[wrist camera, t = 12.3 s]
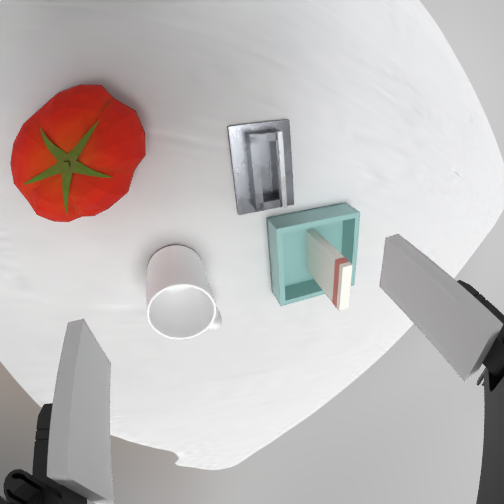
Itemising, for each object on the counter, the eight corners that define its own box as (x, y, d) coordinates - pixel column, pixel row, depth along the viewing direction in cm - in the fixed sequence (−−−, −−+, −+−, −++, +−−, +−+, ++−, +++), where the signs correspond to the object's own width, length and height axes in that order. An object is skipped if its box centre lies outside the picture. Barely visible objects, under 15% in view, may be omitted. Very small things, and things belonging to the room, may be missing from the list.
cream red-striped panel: (305, 230, 47) (342, 267, 38) (314, 228, 47) (352, 264, 38) (306, 269, 50) (339, 311, 41) (314, 267, 51) (348, 308, 41)
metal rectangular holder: (227, 126, 37) (233, 129, 34) (287, 119, 39) (297, 121, 36) (237, 213, 43) (244, 222, 40) (292, 203, 45) (302, 211, 42)
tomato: (11, 146, 30) (-25, 163, 21) (109, 64, 29) (93, 53, 21) (71, 228, 37) (51, 264, 29) (169, 156, 37) (172, 175, 29)
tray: (266, 217, 45) (276, 229, 41) (345, 202, 47) (359, 212, 44) (272, 291, 51) (280, 306, 48) (342, 272, 54) (354, 285, 50)
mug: (231, 280, 48) (250, 324, 39) (193, 314, 49) (204, 361, 40) (174, 231, 42) (180, 270, 33) (135, 271, 43) (132, 317, 34)
